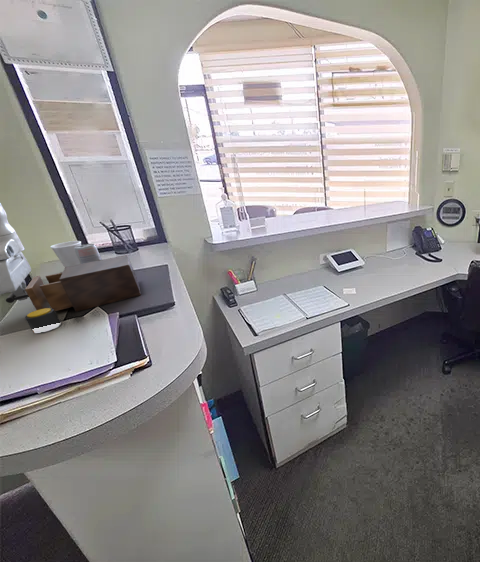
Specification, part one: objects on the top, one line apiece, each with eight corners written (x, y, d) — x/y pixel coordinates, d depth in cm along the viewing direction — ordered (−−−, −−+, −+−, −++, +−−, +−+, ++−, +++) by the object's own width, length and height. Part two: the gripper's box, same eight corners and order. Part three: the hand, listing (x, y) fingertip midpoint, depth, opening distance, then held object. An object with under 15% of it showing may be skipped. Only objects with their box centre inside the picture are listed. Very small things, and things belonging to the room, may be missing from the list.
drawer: (15, 323, 77) (-2, 295, 74) (24, 307, 85) (9, 281, 82) (106, 300, 87) (95, 274, 83) (107, 288, 95) (96, 264, 92)
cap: (31, 336, 72) (21, 319, 70) (35, 328, 76) (26, 312, 74) (60, 328, 75) (51, 312, 73) (62, 320, 78) (54, 305, 77)
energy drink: (105, 275, 108) (91, 242, 103) (112, 278, 105) (97, 244, 100) (86, 281, 104) (70, 247, 99) (93, 284, 101) (77, 249, 96)
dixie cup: (65, 269, 117) (53, 243, 113) (93, 264, 121) (82, 239, 117) (60, 275, 111) (47, 248, 107) (90, 269, 115) (78, 244, 111)
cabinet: (75, 311, 83) (59, 279, 79) (79, 296, 92) (65, 266, 88) (141, 295, 91) (129, 264, 87) (138, 282, 100) (127, 254, 96)
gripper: (-11, 242, 81) (16, 289, 86) (-40, 260, 66) (-5, 316, 71) (23, 237, 84) (47, 283, 90) (3, 253, 69) (33, 307, 75)
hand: (24, 298), depth 80 cm, fingers closed, pressing on drawer
